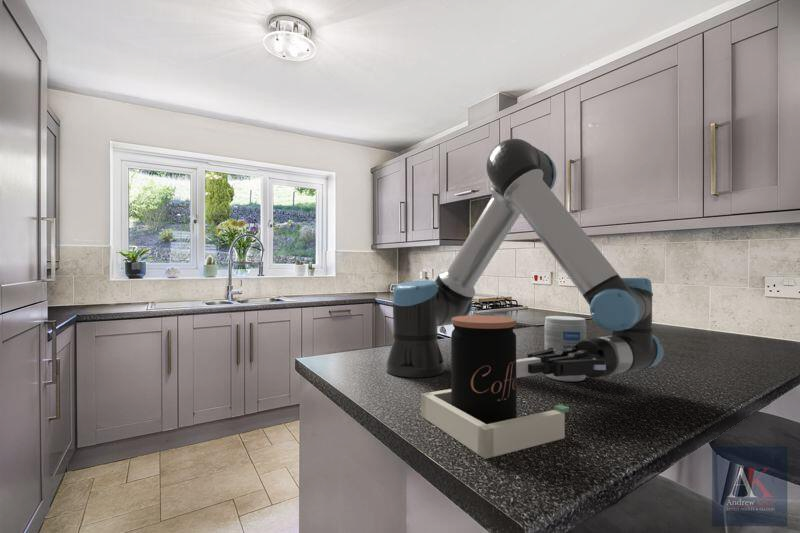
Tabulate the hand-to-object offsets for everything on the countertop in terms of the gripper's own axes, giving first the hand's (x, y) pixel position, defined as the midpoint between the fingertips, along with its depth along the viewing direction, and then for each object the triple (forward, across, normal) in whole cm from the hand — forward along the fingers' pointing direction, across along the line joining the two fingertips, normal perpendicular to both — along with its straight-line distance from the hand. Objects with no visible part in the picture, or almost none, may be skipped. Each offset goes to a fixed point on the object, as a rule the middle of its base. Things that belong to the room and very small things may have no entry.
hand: (510, 369), depth 68 cm
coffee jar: (+6, 0, -9) cm, 11 cm away
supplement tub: (-32, +16, -9) cm, 37 cm away
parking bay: (+4, 0, -9) cm, 10 cm away
